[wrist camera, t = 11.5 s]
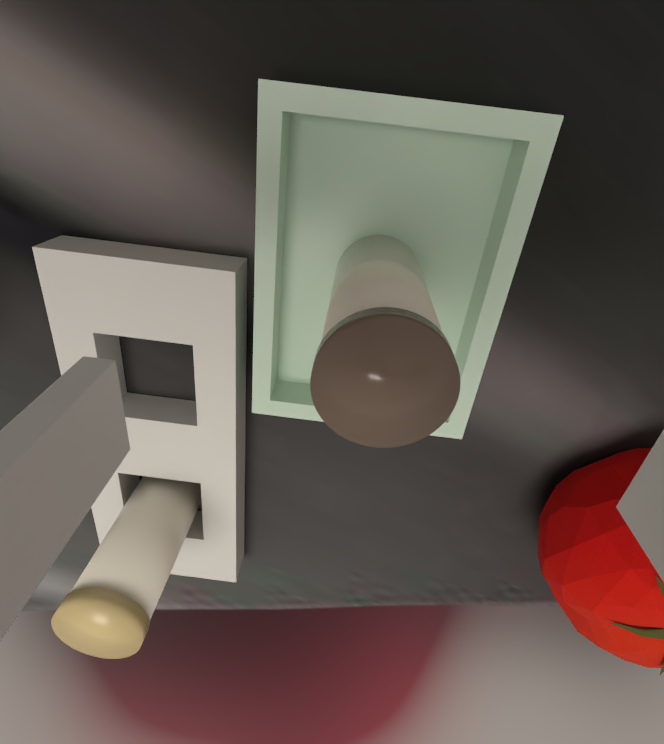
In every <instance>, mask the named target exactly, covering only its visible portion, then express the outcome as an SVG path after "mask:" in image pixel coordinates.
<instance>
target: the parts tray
mask: <svg viewBox="0 0 664 744" xmlns="http://www.w3.org/2000/svg"><path fill="white" fill-rule="evenodd" d="M563 118H564V116H563V115H555V114H547V113H538V112H530V111H522V110H514V109H505V108H497V107H489V106H480V105H472V104H464V103H456V102H447V101H439V100H431V99H423V98H414V97H406V96H398V95H390V94H381V93H373V92H365V91H356V90H348V89H340V88H332V87H323V86H315V85H307V84H299V83H290V82H282V81H274V80H266V79H258V114H257V167H256V219H255V272H254V324H253V377H252V413H258V414H266V415H274V416H282V417H290V418H298V419H305V420H313V421H321V422H324V421H323V420H322V419H321V417H320V416H319V414H318V412H317V411H316V408H315V406H314V404H313V401H312V397H311V391H310V378H311V373H312V368H313V363H314V359H315V355H316V352H317V349H318V347H319V345H320V343H321V340H322V335H323V330H324V325H325V321H326V316H327V311H328V306H329V301H330V296H331V291H332V287H333V282H334V277H335V272H336V267H337V264H338V261H339V259H340V257H341V256H342V254H343V253H344V251H345V250H346V249H347V248H348V247H349V246H350V245H351V244H353V243H354V242H356V241H357V240H359V239H361V238H364V237H367V236H372V235H386V236H391V237H393V238H396V239H398V240H400V241H402V242H403V243H405V244H406V245H407V246H408V247H409V248H410V249H411V250H412V252H413V253H414V255H415V256H416V258H417V261H418V263H419V266H420V269H421V272H422V275H423V278H424V281H425V284H426V286H427V289H428V292H429V295H430V298H431V301H432V304H433V307H434V309H435V312H436V315H437V318H438V321H439V324H440V327H441V330H442V332H443V334H444V335H445V337H446V339H447V340H448V342H449V344H450V346H451V349H452V351H453V354H454V357H455V359H456V362H457V365H458V369H459V373H460V381H461V382H460V393H459V397H458V401H457V403H456V406H455V408H454V410H453V411H452V413H451V415H450V416H449V417H448V419H447V420H446V421H445V422H444V423H443V424H442V425H441V426H440V427H439V428H438V429H437V430H436V431H434V432H433V433H432V434H430V435H432V436H440V437H448V438H456V439H462V437H463V434H464V431H465V428H466V424H467V421H468V418H469V415H470V412H471V409H472V405H473V402H474V399H475V396H476V393H477V390H478V386H479V383H480V380H481V377H482V374H483V371H484V367H485V364H486V361H487V358H488V355H489V352H490V348H491V345H492V342H493V339H494V336H495V333H496V329H497V326H498V323H499V320H500V317H501V314H502V311H503V307H504V304H505V301H506V298H507V295H508V292H509V288H510V285H511V282H512V279H513V276H514V273H515V269H516V266H517V263H518V260H519V257H520V254H521V250H522V247H523V244H524V241H525V238H526V235H527V231H528V228H529V225H530V222H531V219H532V216H533V212H534V209H535V206H536V203H537V200H538V197H539V193H540V190H541V187H542V184H543V181H544V178H545V174H546V171H547V168H548V165H549V162H550V159H551V156H552V152H553V149H554V146H555V143H556V140H557V137H558V133H559V130H560V127H561V124H562V121H563Z"/></svg>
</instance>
